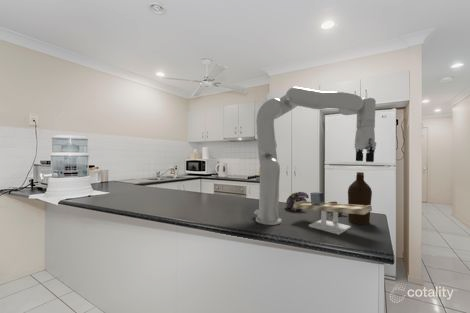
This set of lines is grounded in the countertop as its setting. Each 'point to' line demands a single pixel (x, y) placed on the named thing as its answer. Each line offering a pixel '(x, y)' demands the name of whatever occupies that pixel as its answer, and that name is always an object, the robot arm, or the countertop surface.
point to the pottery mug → (338, 212)
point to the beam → (335, 207)
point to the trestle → (330, 224)
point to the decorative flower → (295, 200)
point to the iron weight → (317, 198)
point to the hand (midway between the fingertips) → (364, 161)
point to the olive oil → (359, 198)
